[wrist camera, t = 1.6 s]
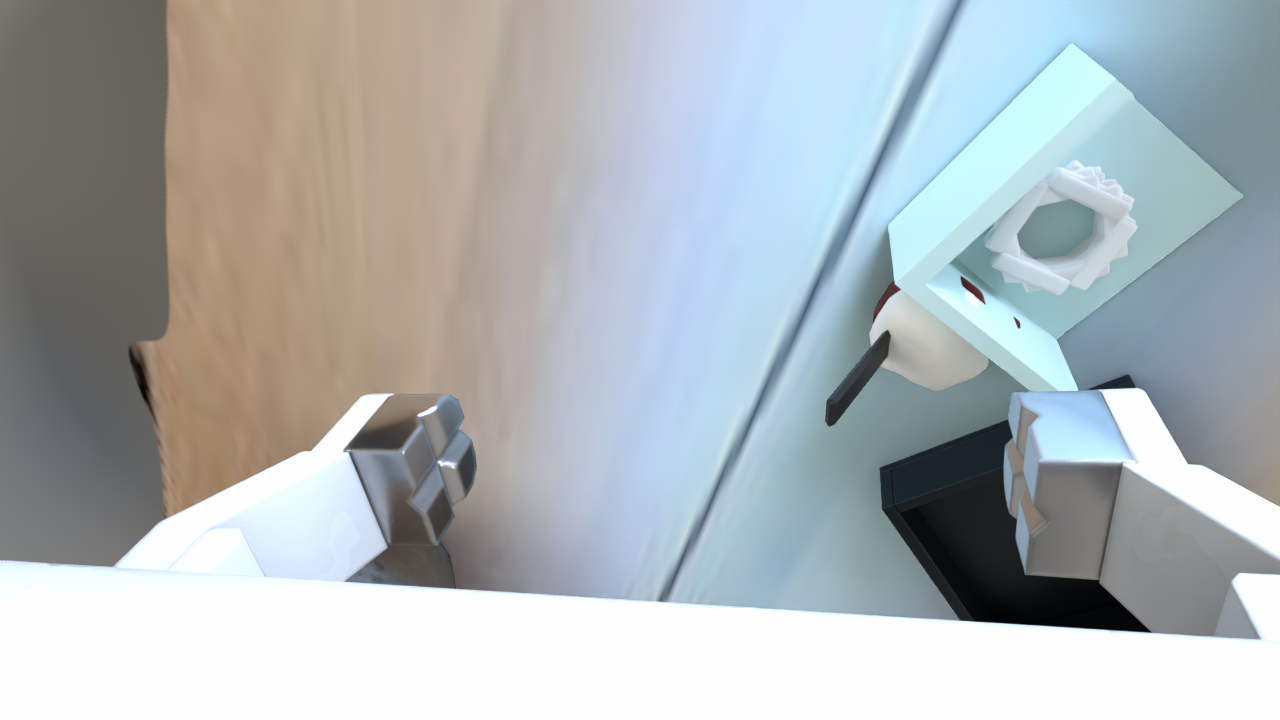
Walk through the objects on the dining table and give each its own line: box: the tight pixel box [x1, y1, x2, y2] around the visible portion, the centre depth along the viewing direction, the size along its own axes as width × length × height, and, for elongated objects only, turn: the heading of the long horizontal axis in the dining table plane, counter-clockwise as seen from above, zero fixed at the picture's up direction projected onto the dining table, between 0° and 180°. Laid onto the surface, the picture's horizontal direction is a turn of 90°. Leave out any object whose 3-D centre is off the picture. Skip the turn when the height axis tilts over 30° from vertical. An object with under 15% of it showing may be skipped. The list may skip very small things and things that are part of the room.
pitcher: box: [345, 542, 456, 589], centre depth 59 cm, size 21×22×25 cm
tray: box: [880, 375, 1152, 633], centre depth 51 cm, size 16×18×4 cm
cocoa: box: [825, 276, 1021, 427], centre depth 41 cm, size 10×6×12 cm, turn 71°
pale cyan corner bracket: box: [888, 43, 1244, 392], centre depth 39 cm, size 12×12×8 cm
